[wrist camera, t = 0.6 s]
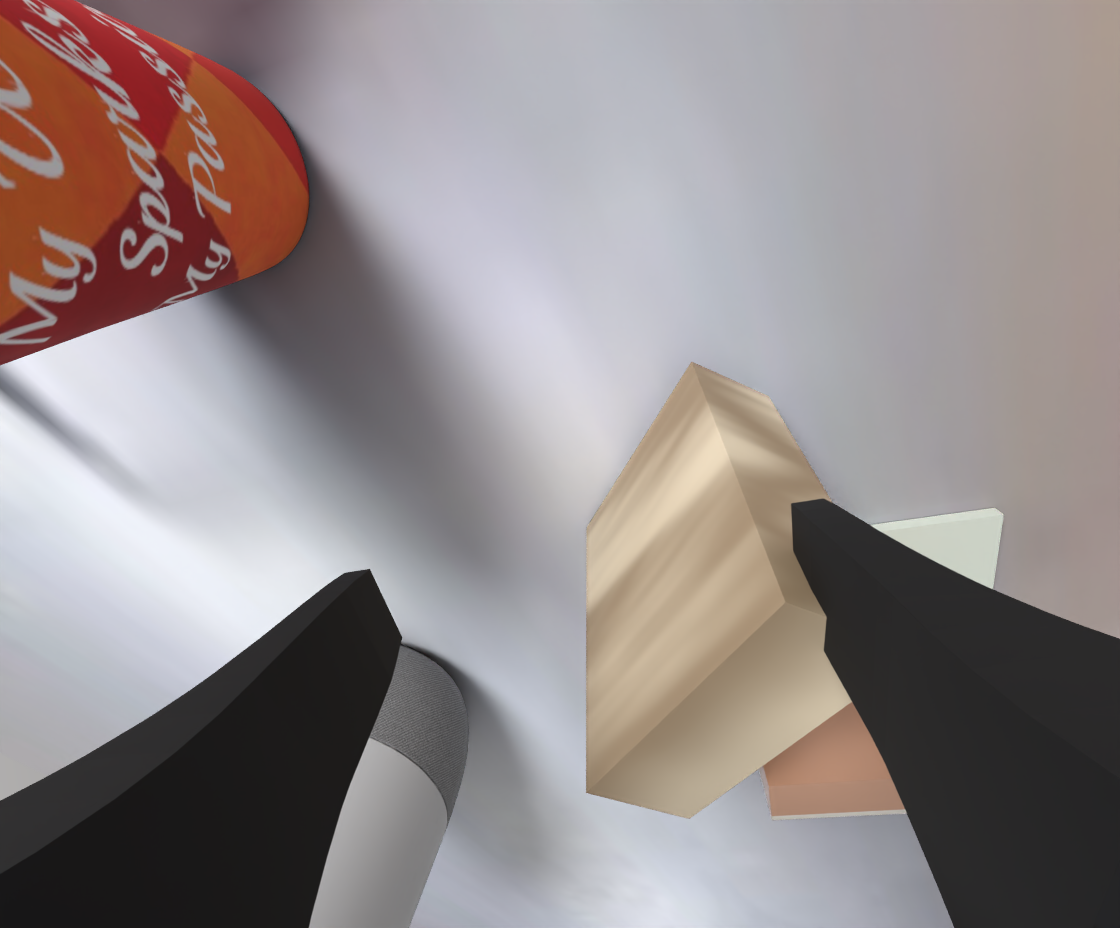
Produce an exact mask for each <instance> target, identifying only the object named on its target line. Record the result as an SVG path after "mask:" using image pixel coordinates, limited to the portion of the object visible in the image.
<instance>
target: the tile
mask: <svg viewBox="0 0 1120 928" xmlns="http://www.w3.org/2000/svg"><path fill="white" fill-rule="evenodd" d="M758 770H759V774H760V777H761V781H762V785H763V789H764V793H765V796H766V800H767V804H768V808H769V811H770V815H771V819H772V820H790V819H810V818H829V817H849V816H869V815H888V814H907V812H906V810H905V808H904V806H903V803H902V801H901V799H900V797H899V794H898V792H897V790H896V787H895V785H894V783H893V781H892V778H891V776H890V774H889V772H888V769H887V767H886V765H885V763H884V760H883V758H882V756H881V755H880V753H879V751H878V749H877V747H876V745H875V743H874V741H873V739H872V737H871V735H870V733H869V731H868V730H867V728H866V726H865V724H864V722H863V721H862V719H861V717H860V715H859V713H858V712H857V710H856V708H855V706H854V704H853V703H852V702H851V703H849V704H848V705H847V706H845V707H844V708H843V709H841V710H840V711H838V712H837V713H836V714H834V715H833V716H831V717H830V718H829V719H827V720H826V721H824V722H823V723H822V724H820V725H819V726H818V727H816V728H815V729H813V730H812V731H811V732H809V733H808V734H806V735H805V736H804V737H802V738H801V739H799V740H798V741H797V742H795V743H794V744H792V745H791V746H790V747H788V748H787V749H786V750H784V751H783V752H781V753H780V754H779V755H777V756H776V757H774V758H773V759H772V760H770V761H769V762H767V763H766V764H765V765H763V766H762V767H761V768H759V769H758Z"/></svg>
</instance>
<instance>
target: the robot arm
mask: <svg viewBox="0 0 1120 928" xmlns="http://www.w3.org/2000/svg"><path fill="white" fill-rule="evenodd" d="M791 515H792V537H793V552H794V554H795V556H796V558H797V560H798V562H799V564H800V567H801V569H802V571H803V573H804V575H805V577H806V579H807V582H808V584H809V586H810V588H811V590H812V592H813V594H814V595H815V597H816V599H817V601H818V603H819V604H820V606H821V608H822V610H823V611H824V613H825V615H826V617H827V619H826V630H825V641H824V652H825V654H826V656H827V658H828V660H829V661H830V663H831V665H832V667H833V669H834V670H835V672H836V674H837V676H838V678H839V679H840V681H841V683H842V685H843V686H844V688H845V690H846V692H847V694H848V695H849V697H850V699H851V701H852V703H853V704H854V706H855V708H856V710H857V712H858V713H859V715H860V717H861V719H862V721H863V722H864V724H865V726H866V728H867V730H868V731H869V733H870V735H871V737H872V739H873V741H874V743H875V745H876V747H877V749H878V751H879V753H880V755H881V756H882V758H883V760H884V763H885V765H886V767H887V769H888V772H889V774H890V776H891V778H892V781H893V783H894V785H895V787H896V790H897V792H898V794H899V797H900V799H901V801H902V803H903V806H904V808H905V810H906V812H907V815H908V817H909V819H910V822H911V824H912V826H913V829H914V831H915V833H916V836H917V838H918V841H919V843H920V845H921V848H922V850H923V852H924V855H925V857H926V860H927V862H928V864H929V867H930V869H931V871H932V874H933V876H934V879H935V881H936V883H937V886H938V888H939V891H940V893H941V896H942V898H943V901H944V903H945V906H946V908H947V911H948V913H949V915H950V918H951V920H952V923H953V925H954V928H1120V639H1119V638H1116V637H1113V636H1110V635H1107V634H1104V633H1101V632H1099V631H1096V630H1093V629H1090V628H1087V627H1084V626H1082V625H1079V624H1076V623H1074V622H1071V621H1068V620H1066V619H1063V618H1060V617H1058V616H1055V615H1053V614H1050V613H1048V612H1045V611H1043V610H1040V609H1038V608H1036V607H1033V606H1031V605H1028V604H1026V603H1024V602H1021V601H1019V600H1016V599H1014V598H1012V597H1009V596H1007V595H1004V594H1002V593H1000V592H997V591H995V590H993V589H991V588H989V587H986V586H984V585H982V584H980V583H978V582H976V581H974V580H971V579H969V578H967V577H965V576H963V575H961V574H959V573H957V572H955V571H953V570H951V569H949V568H947V567H945V566H943V565H941V564H939V563H937V562H935V561H933V560H931V559H929V558H928V557H926V556H924V555H922V554H920V553H918V552H916V551H914V550H913V549H911V548H909V547H907V546H905V545H904V544H902V543H900V542H898V541H896V540H895V539H893V538H891V537H889V536H888V535H886V534H884V533H882V532H881V531H879V530H877V529H876V528H874V527H872V526H870V525H869V524H867V523H865V522H864V521H862V520H860V519H859V518H857V517H855V516H854V515H852V514H850V513H849V512H847V511H845V510H844V509H842V508H840V507H838V506H837V505H835V504H833V503H832V502H830V501H828V500H826V499H824V498H822V499H816V500H809V501H803V502H797V503H791ZM401 640H402V636H401V634H400V632H399V630H398V628H397V626H396V623H395V621H394V619H393V617H392V615H391V613H390V611H389V609H388V607H387V605H386V602H385V600H384V598H383V596H382V594H381V592H380V590H379V588H378V586H377V583H376V581H375V579H374V577H373V575H372V573H371V571H370V569H367V570H361V571H354V572H348V573H344V574H342V575H341V576H339V577H338V578H336V579H335V580H333V581H332V582H331V583H329V584H328V585H327V586H325V587H324V588H323V589H321V590H320V591H319V592H317V593H316V594H315V595H313V596H312V597H311V598H310V599H308V600H307V601H306V602H305V603H303V604H302V605H301V606H300V607H298V608H297V609H296V610H295V611H293V612H292V613H291V614H290V615H288V616H287V617H286V618H285V619H283V620H282V621H281V622H280V623H278V624H277V625H276V626H275V627H273V628H272V629H271V630H270V631H268V632H267V633H266V634H265V635H263V636H262V637H261V638H260V639H258V640H257V641H256V642H254V643H253V644H252V645H251V646H249V647H248V648H247V649H245V650H244V651H243V652H241V653H240V654H239V655H237V656H236V657H235V658H233V659H232V660H231V661H229V662H228V663H227V664H225V665H224V666H223V667H222V668H220V669H219V670H218V671H216V672H215V673H214V674H212V675H211V676H210V677H208V678H207V679H205V680H204V681H203V682H201V683H200V684H198V685H197V686H195V687H194V688H193V689H191V690H190V691H188V692H187V693H185V694H184V695H182V696H181V697H179V698H178V699H176V700H175V701H173V702H172V703H170V704H169V705H167V706H166V707H164V708H163V709H161V710H160V711H158V712H157V713H155V714H154V715H152V716H150V717H149V718H147V719H146V720H144V721H143V722H141V723H139V724H138V725H136V726H134V727H133V728H131V729H129V730H127V731H126V732H124V733H122V734H121V735H119V736H117V737H116V738H114V739H112V740H111V741H109V742H107V743H106V744H104V745H102V746H101V747H99V748H97V749H96V750H94V751H92V752H91V753H89V754H87V755H86V756H84V757H82V758H80V759H78V760H77V761H75V762H73V763H71V764H69V765H67V766H66V767H64V768H62V769H60V770H58V771H56V772H55V773H53V774H51V775H49V776H47V777H45V778H44V779H42V780H40V781H38V782H36V783H34V784H32V785H30V786H28V787H26V788H24V789H22V790H21V791H18V792H17V793H15V794H13V795H11V796H9V797H7V798H5V799H3V800H1V801H0V928H309V925H310V921H311V916H312V913H313V909H314V905H315V901H316V898H317V894H318V890H319V886H320V882H321V879H322V875H323V871H324V867H325V864H326V860H327V856H328V853H329V850H330V846H331V843H332V840H333V836H334V833H335V829H336V826H337V823H338V819H339V816H340V813H341V809H342V806H343V803H344V801H345V798H346V795H347V792H348V789H349V787H350V784H351V781H352V779H353V776H354V774H355V771H356V769H357V766H358V764H359V762H360V759H361V757H362V754H363V752H364V749H365V747H366V744H367V742H368V739H369V737H370V734H371V732H372V729H373V727H374V724H375V722H376V720H377V717H378V715H379V712H380V709H381V707H382V704H383V702H384V699H385V697H386V694H387V692H388V689H389V686H390V684H391V681H392V677H393V673H394V670H395V666H396V662H397V658H398V654H399V649H400V645H401Z"/></svg>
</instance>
